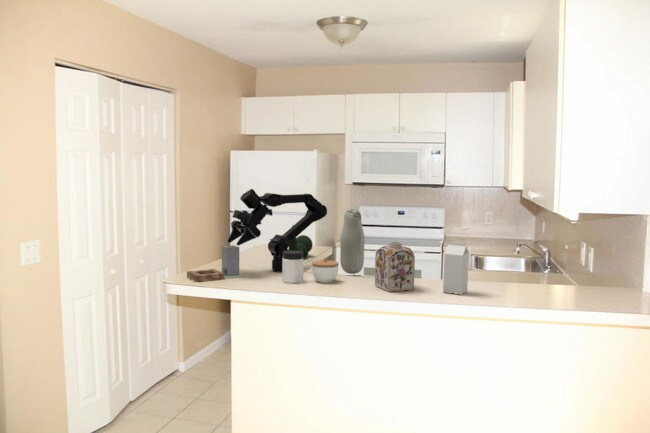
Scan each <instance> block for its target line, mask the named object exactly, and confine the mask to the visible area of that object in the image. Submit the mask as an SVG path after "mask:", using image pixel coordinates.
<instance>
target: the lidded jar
mask: <svg viewBox="0 0 650 433" xmlns="http://www.w3.org/2000/svg"><path fill="white" fill-rule="evenodd" d="M311 265H312V267H311V268H312V274H313V276H314V278H315V280H317V282H318V283H322V284H323V283H324V284H329V283H333V281H335V279H336V278H337V276H338V272H339V262H338V261H336V260H328V259H327V258H323V259H321V260H314V261H312V263H311Z"/></svg>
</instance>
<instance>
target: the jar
mask: <svg viewBox="0 0 650 433" xmlns="http://www.w3.org/2000/svg"><path fill="white" fill-rule="evenodd" d="M288 250H289V249H288ZM304 259H305V258H303V252H302V251H296V250H289V251H284V252H283V258H282V271H281V273H282V274H281V276H282V277H281V278H282V279H281V280H282V281H283V283H286V284H287V283H289V284H298V283H303V282H304Z"/></svg>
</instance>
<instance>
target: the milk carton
mask: <svg viewBox="0 0 650 433" xmlns="http://www.w3.org/2000/svg"><path fill="white" fill-rule="evenodd" d="M443 254H444V257H443V258H444V261H443V280H442V283H443V284H442V293H444V292H447V293H446V294H451V293H454V294H453V295H458V294H460V296H462V295H463V293H464V294H465V293H467V292H468V284H469V283H468V282H469V263H470V262H469V261H470V260H469V259H470V258H469V257H470V252H469V249H468V247H467V243H466V242H465V243H463V242H453V241H447V246H446V248H445V251H444V253H443Z"/></svg>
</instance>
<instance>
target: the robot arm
mask: <svg viewBox="0 0 650 433" xmlns="http://www.w3.org/2000/svg"><path fill="white" fill-rule="evenodd" d="M240 202H242V203H243V204H244V205H245V206H246V207H247V208H248V209H249V210H250V209H252V211H251V212H250V213H249V211H247V210H236V209H235V210H234V211H233V214H232V218H233V219H234V218H235V219H236V220H233V221H232V222H231V223H230V226H231V232H230V234H229V237H228V239H227V243H229V244H230V243H232V242H234V241H235V240H237V239H238V238H239V239H238V241H237V242H236V246H237V247H240V246H241V245H244V244H245V243H247V242H249V241H251V240H255V239H256V238H260V236H261V235H262V233H261V232H262V231H261V230H260V229H259V228H258V225H262V221H263V220H264V218H265V217H266V216H270V217H271V216H273V215H274V214H273V209H271V208H276V207H280V206H282V205H285V204H300V203H301V204H302V203H304V205H305V207H306V208H307V210H306V213H305V215H303V216H302V218H300V219H299V220H298V221H297V222H296V223H295V224H293V225H294V226H293V225H292V226H293V227H292V226H291V227H290V228H289V229H288V230H287V231H286V232H284V233H283V234H275V235H274V236H273V237H272V238H270V239H269V242H268V243H267V249H268V252H270V255H271V256H272V258H273V259H271V269H272V271H273V272H275V273H276V272H282V258H283V252H284V251H289V245H290V242H291V241H292V240H293V239H295V238H297V237H298V236H300V235H301V233H303V232H304V231H305V230H306V229H307V228H308V227H309V226H311V225H312V224H313V223H315V222H317V221H320V220H321V219H322V220H323V218H325V217H326V216H327V214H328V209H327V206H326V205H325V204H322V202H320V201H319V200H318V199H317V198H315V196H313V195H312V194H311V193H299V194H296V193H295V194H278V193H271V192H265V193H264V194H263V195H261V196H260V195H258V194H257V192H256V190H254V188H250V189H249V190H247V191H245V192H244V193H243V194H242V195H241V196H240ZM270 207H271V208H270Z"/></svg>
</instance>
